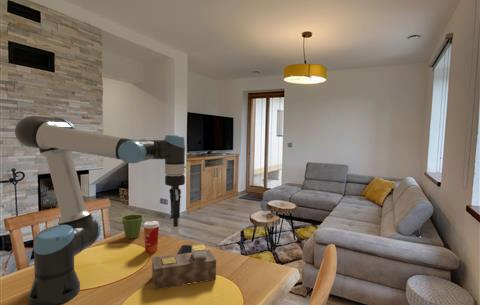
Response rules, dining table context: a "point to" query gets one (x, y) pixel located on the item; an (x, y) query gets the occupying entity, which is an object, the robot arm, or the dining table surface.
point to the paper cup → (151, 236)
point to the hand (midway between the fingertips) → (175, 233)
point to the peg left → (168, 261)
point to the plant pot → (132, 225)
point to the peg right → (198, 252)
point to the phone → (185, 249)
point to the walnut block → (182, 270)
